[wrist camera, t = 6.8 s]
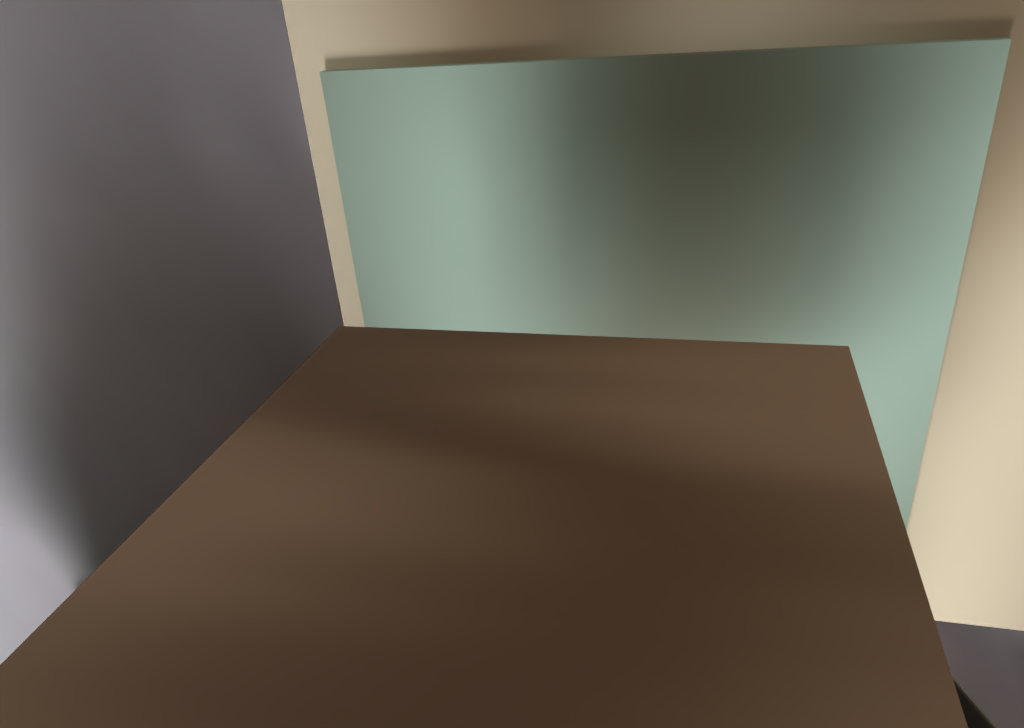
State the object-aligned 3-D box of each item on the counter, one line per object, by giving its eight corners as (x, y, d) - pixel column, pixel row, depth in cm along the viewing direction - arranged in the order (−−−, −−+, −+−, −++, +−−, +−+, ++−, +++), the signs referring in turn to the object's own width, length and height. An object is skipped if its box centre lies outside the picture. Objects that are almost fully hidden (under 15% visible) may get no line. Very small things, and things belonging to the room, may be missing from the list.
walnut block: (404, 659, 10) (185, 1152, 6) (341, 326, 8) (-82, 746, 4) (793, 717, 9) (854, 1380, 5) (847, 345, 7) (1050, 989, 3)
